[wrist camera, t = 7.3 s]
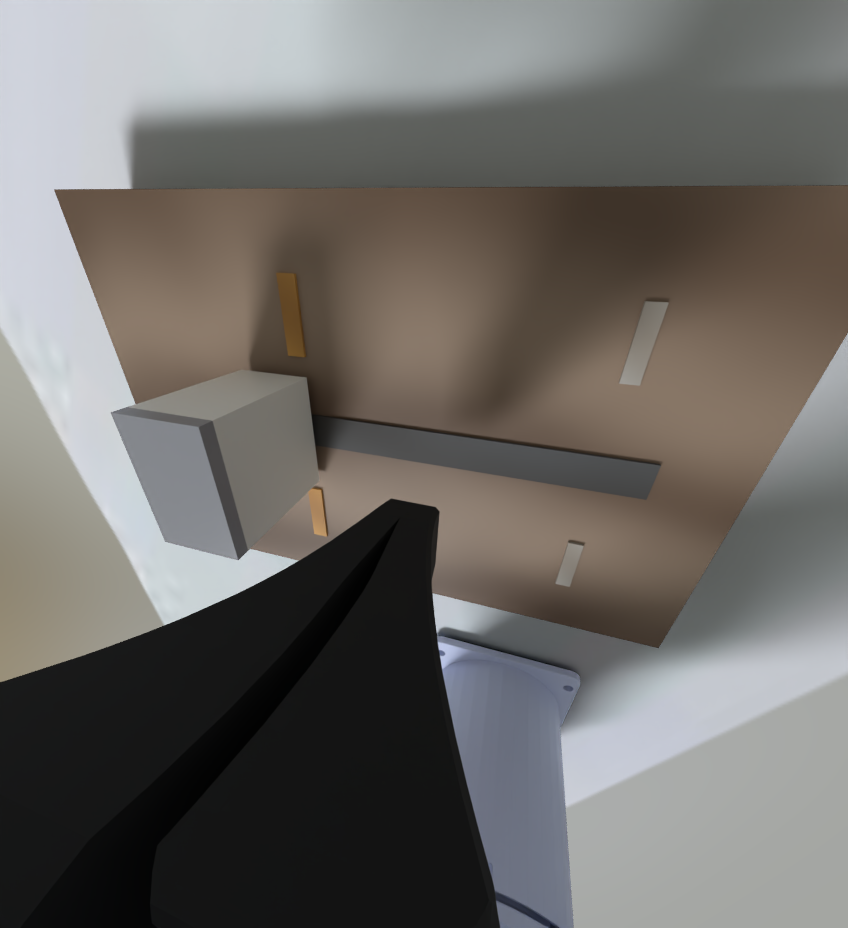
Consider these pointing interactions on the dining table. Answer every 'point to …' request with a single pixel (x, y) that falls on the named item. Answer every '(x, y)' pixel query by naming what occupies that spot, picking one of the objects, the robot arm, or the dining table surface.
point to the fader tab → (223, 457)
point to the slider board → (499, 362)
